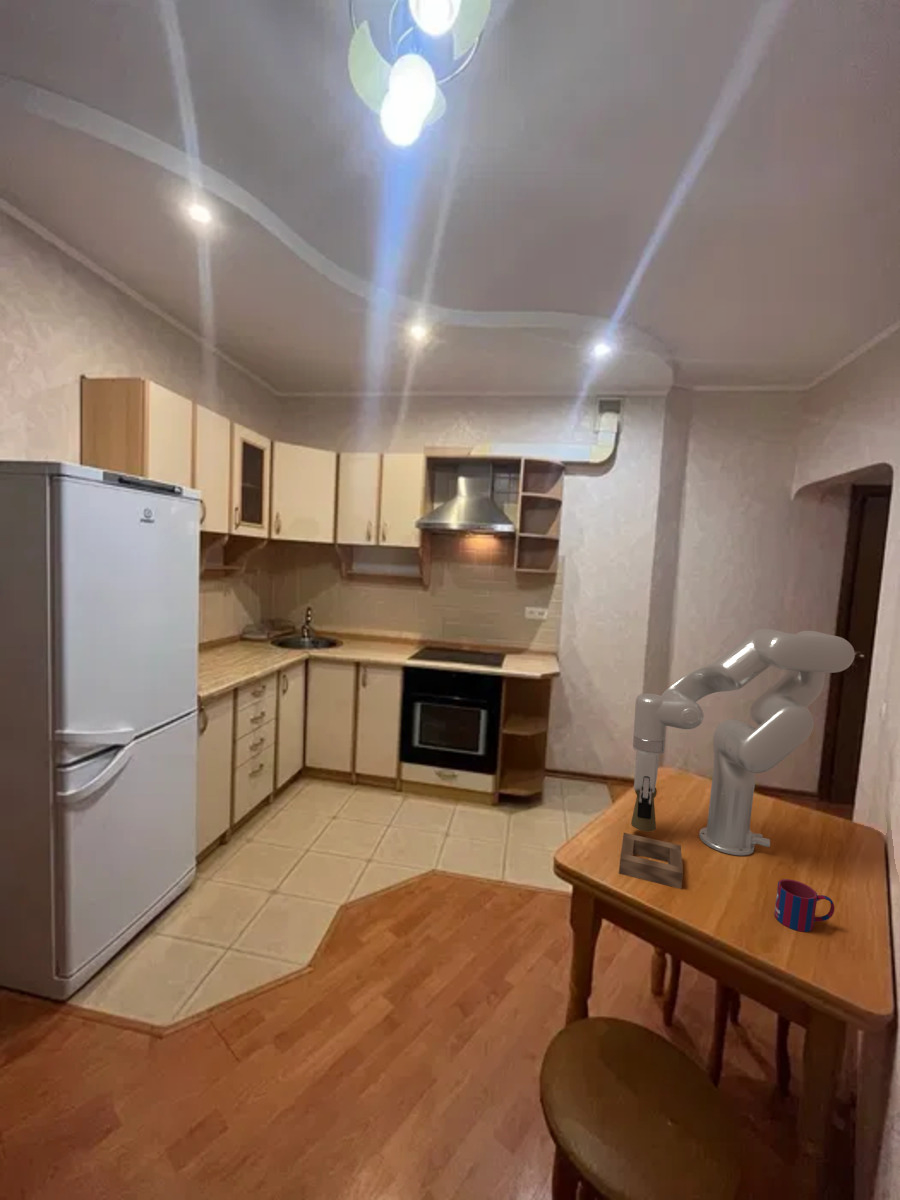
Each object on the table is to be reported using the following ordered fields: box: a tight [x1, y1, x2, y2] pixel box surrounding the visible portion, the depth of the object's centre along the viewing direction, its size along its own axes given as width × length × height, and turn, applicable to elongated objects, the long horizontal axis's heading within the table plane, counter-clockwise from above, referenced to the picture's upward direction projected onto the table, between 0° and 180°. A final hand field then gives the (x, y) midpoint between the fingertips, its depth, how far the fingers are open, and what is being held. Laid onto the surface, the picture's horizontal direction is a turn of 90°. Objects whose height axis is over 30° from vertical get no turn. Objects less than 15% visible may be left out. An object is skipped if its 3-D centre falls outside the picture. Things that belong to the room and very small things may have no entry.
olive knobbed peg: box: [630, 786, 658, 832], centre depth 143 cm, size 6×6×11 cm
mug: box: [774, 878, 835, 933], centre depth 112 cm, size 7×10×7 cm
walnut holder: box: [618, 832, 684, 889], centre depth 130 cm, size 13×13×4 cm
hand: (644, 813), depth 143 cm, fingers closed on olive knobbed peg, 4 cm apart
